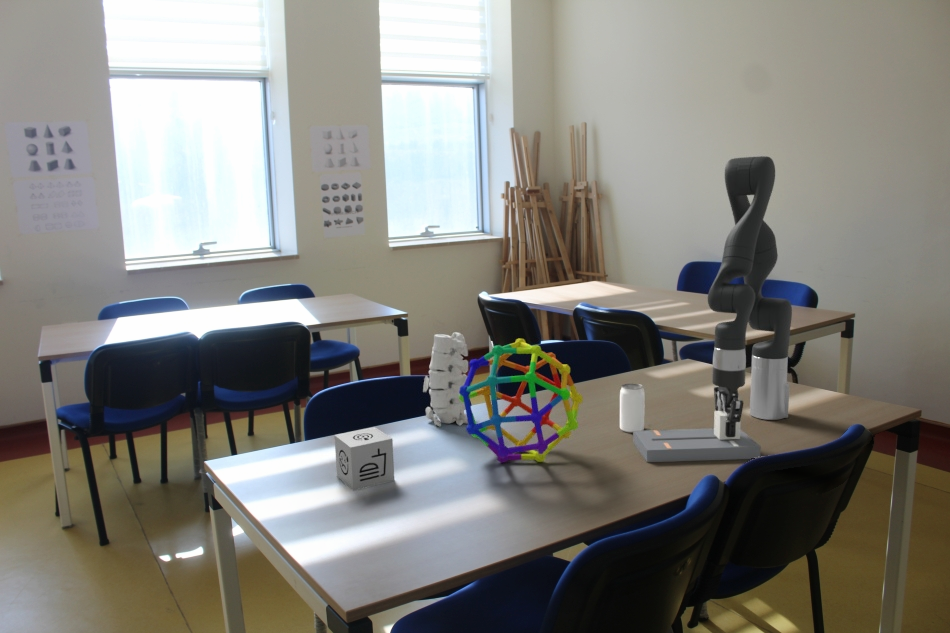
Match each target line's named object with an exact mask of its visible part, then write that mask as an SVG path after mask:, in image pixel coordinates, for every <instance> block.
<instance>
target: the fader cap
mask: <svg viewBox="0 0 950 633" xmlns="http://www.w3.org/2000/svg"><path fill="white" fill-rule="evenodd" d="M713 416H714V419H713V428H714V435H715V436H716V437H717V438H718V439H719V440H723V439H740V429H741V424H742V421H741V420H740V422H736V432H735V437H727V436H726V435H725V432H726V416H725V413H724V412H723V411H716V410H714V415H713ZM733 417H734V415H733Z"/></svg>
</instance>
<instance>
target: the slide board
mask: <svg viewBox="0 0 950 633" xmlns="http://www.w3.org/2000/svg"><path fill="white" fill-rule="evenodd" d="M632 443H633V444H634V445H635V447H636V448H637V450H638V451H639V454H641V456H642V458H643V459H644V460H645V462H646V463H660V462H661V463H663V462H664V463H665V462H666V463H667V462H693V461H695V462H697V461H698V462H699V461H700V462H701V461H720V460H721V461H722V460H723V461H726V460H728V461H729V460H731V461H732V460H752V459H751V458H754V457H758V456H760V457H761V453H762V452H761V450H762V449H761V447H762V446H761V445H760V444H758V443H757V442H756V441H755V440H754V439H753V438H751V437H750V436H749V435H748V434H747V433H746V432H744V430H742V429H741V428H740V439H723V440H719V439H718V438H717V437H716V436H715V435H714V427H713V428H681V429H680V428H678V429H651V430H649V429H648V430H647V429H646V430H645V429H644V430H643V431H633V433H632Z"/></svg>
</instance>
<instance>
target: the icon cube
mask: <svg viewBox="0 0 950 633" xmlns="http://www.w3.org/2000/svg"><path fill="white" fill-rule="evenodd" d="M393 442H394V440H393V438H392V437H391V436H389V435H388V434H386V433H384V432H383V431H382V430H380V429H378V428H377V427H375V426H373V427H369V428H363V429H358V430H353V431H347V432H344V433H338V434H334V447H335V448H334V449H335V464H336V477H337V478H338V479H340V480H341V481H342V482H343V483H344V484H345V485H346V486H347V487H348V488H349V489H351V490H352V492H353V491H358V490H361V489H366V488H370V487H373V486H378V485H381V484H385V483H391V482H394V481H395V466H394V465H395V464H394V463H395V462H394V446H393Z"/></svg>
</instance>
